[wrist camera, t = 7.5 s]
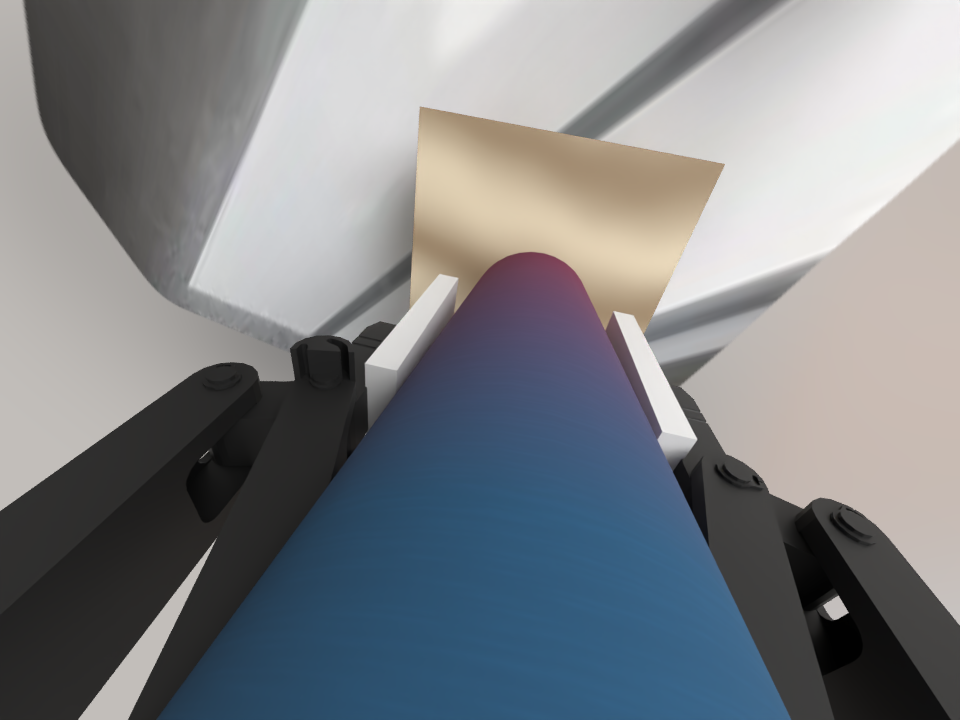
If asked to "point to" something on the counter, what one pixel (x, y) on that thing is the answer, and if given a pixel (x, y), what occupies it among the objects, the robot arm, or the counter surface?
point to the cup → (495, 549)
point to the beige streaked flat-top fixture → (552, 208)
